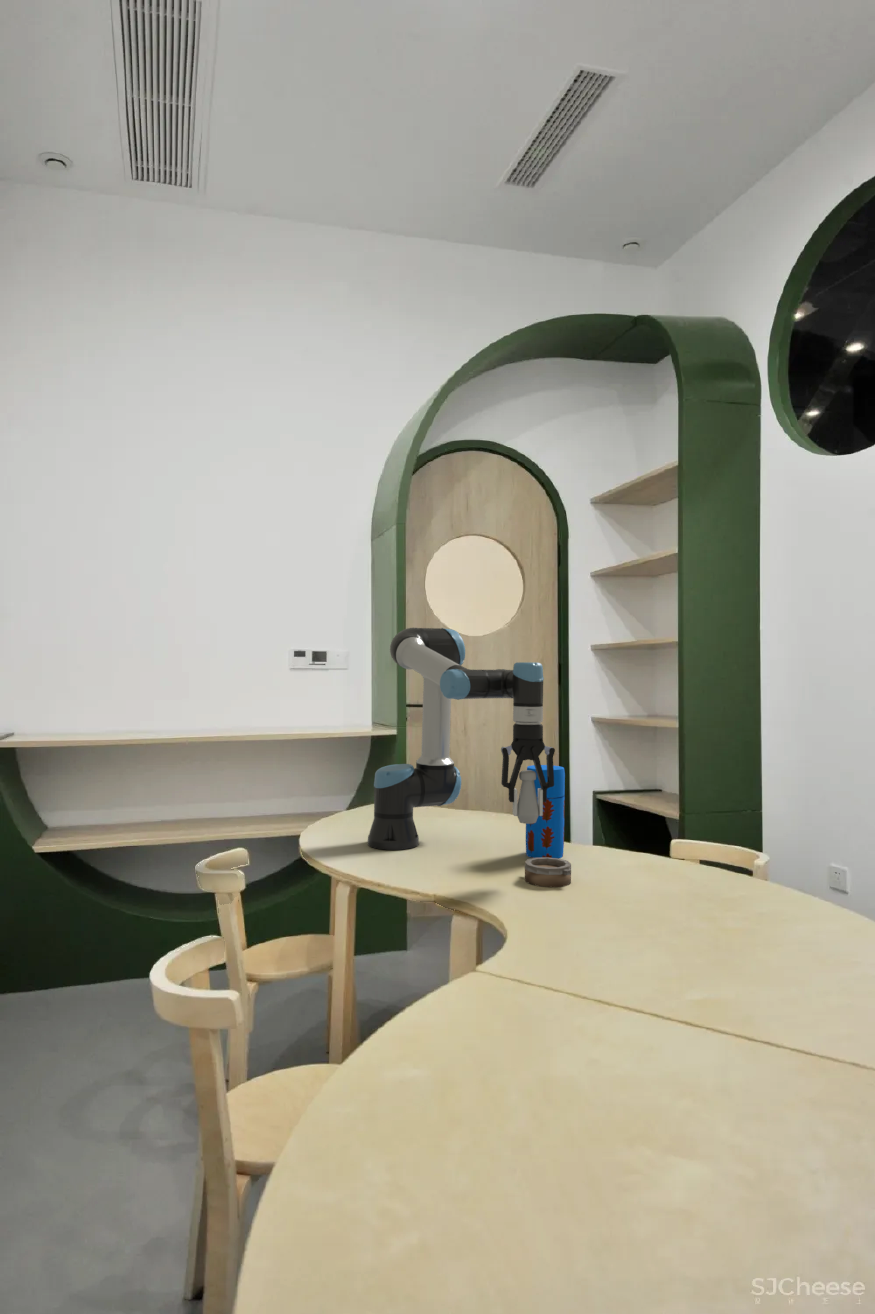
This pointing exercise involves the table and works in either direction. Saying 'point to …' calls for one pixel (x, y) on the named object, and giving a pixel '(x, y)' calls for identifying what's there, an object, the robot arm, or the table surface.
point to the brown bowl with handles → (548, 872)
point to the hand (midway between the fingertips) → (527, 814)
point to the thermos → (548, 819)
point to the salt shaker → (527, 798)
